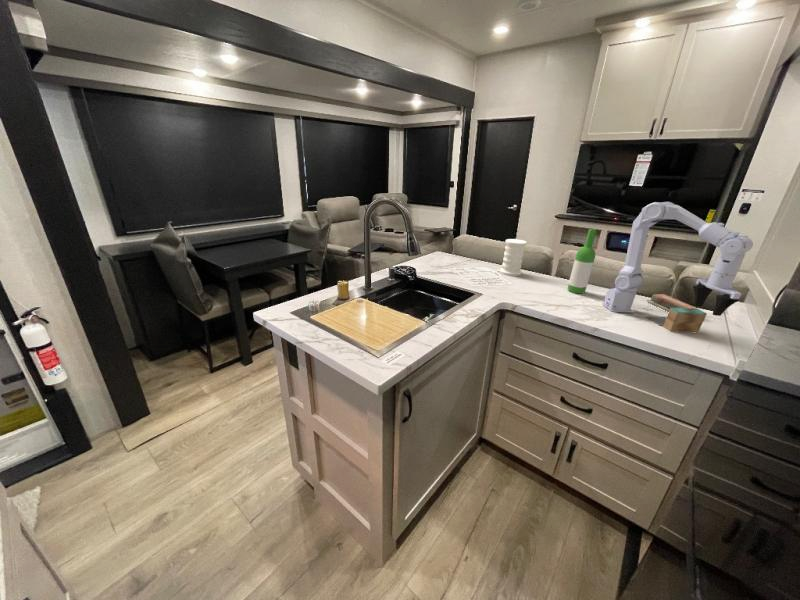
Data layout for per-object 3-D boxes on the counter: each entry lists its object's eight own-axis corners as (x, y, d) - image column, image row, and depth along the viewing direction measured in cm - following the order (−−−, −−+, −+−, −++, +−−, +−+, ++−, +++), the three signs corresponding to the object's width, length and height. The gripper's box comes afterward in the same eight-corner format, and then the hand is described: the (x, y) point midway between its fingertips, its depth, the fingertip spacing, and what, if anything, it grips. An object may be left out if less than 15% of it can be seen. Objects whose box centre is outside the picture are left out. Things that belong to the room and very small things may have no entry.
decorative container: (519, 270, 180) (525, 239, 173) (522, 276, 169) (529, 244, 162) (498, 268, 182) (503, 238, 175) (500, 275, 171) (506, 242, 164)
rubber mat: (659, 325, 119) (659, 325, 119) (645, 316, 127) (646, 316, 127) (692, 327, 119) (692, 327, 119) (676, 318, 126) (676, 317, 126)
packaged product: (648, 293, 140) (667, 292, 141) (644, 303, 142) (663, 302, 143) (688, 310, 123) (709, 309, 125) (683, 321, 125) (704, 320, 127)
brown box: (669, 331, 116) (677, 311, 113) (662, 326, 119) (670, 307, 116) (697, 332, 115) (706, 313, 112) (690, 328, 119) (698, 309, 115)
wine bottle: (588, 293, 149) (606, 230, 138) (577, 295, 147) (594, 231, 135) (574, 287, 156) (591, 227, 144) (563, 289, 153) (579, 227, 141)
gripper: (758, 280, 96) (738, 320, 101) (717, 267, 109) (701, 302, 115) (734, 279, 96) (715, 319, 102) (696, 266, 110) (681, 301, 115)
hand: (706, 310), depth 108 cm, fingers open, 7 cm apart
